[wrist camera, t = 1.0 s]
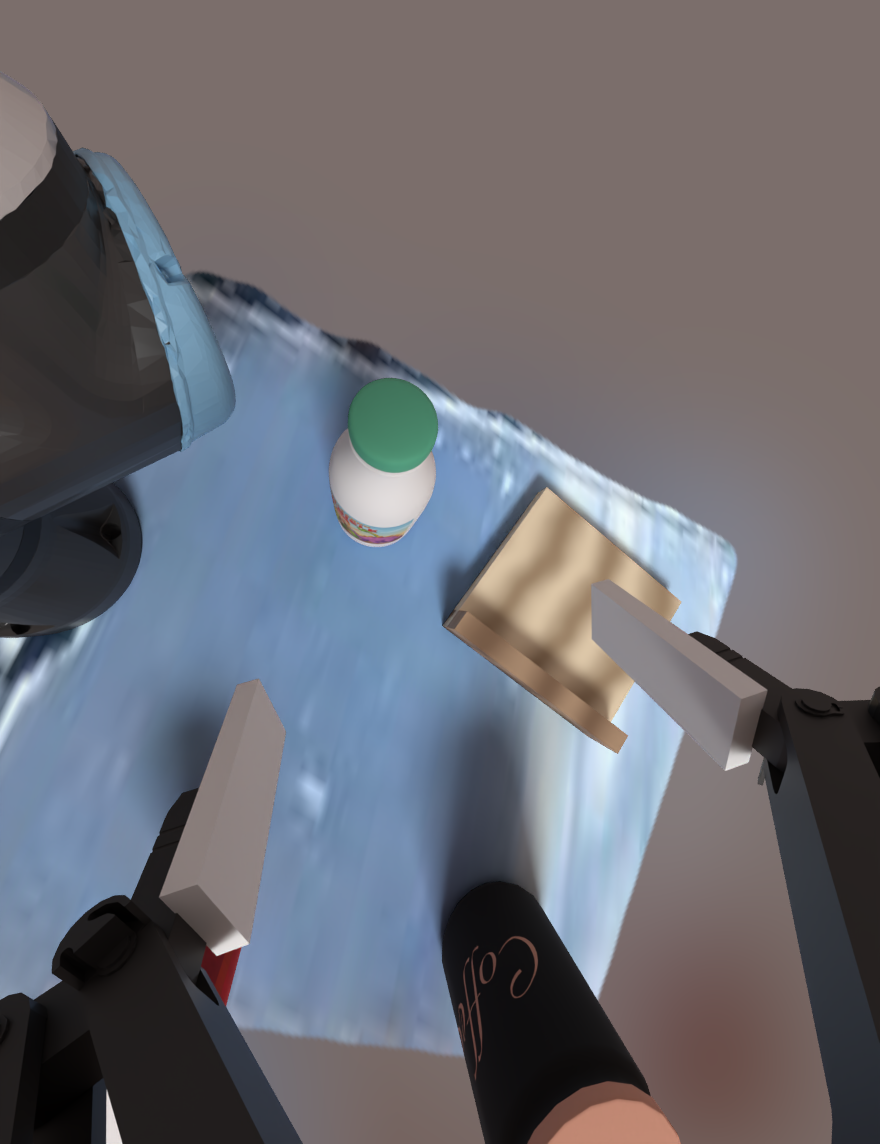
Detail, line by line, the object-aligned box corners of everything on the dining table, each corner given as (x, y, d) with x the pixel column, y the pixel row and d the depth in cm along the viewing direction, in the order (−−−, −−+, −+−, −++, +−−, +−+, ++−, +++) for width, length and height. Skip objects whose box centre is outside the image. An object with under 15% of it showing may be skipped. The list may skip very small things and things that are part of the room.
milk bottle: (367, 456, 39) (378, 313, 20) (428, 504, 40) (497, 412, 21) (319, 516, 38) (279, 425, 18) (384, 563, 39) (412, 526, 19)
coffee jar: (492, 851, 39) (604, 1057, 21) (561, 920, 40) (722, 1171, 22) (415, 944, 37) (470, 1257, 19) (490, 1014, 38) (607, 1374, 20)
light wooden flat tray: (442, 625, 39) (454, 629, 35) (538, 492, 43) (561, 478, 38) (587, 736, 42) (617, 753, 37) (667, 601, 45) (705, 602, 40)
